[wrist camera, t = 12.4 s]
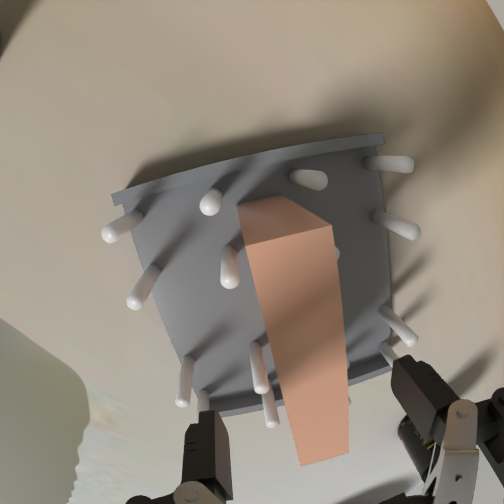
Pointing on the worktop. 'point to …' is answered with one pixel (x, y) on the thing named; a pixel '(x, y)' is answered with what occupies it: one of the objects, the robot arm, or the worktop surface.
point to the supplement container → (416, 446)
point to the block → (301, 319)
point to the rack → (239, 272)
